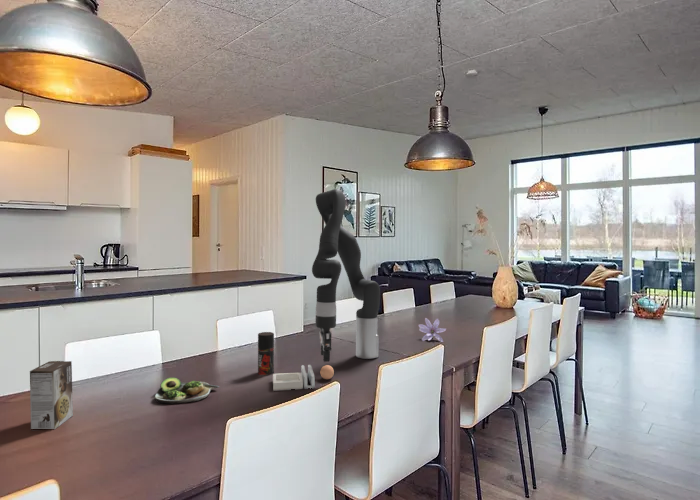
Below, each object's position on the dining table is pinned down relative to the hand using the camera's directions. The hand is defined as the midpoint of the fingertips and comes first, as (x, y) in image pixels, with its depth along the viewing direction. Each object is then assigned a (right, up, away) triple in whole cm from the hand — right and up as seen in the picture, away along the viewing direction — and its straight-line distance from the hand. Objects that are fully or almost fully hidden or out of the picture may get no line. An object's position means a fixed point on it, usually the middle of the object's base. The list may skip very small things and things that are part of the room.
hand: (325, 358), depth 158 cm
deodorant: (-23, -8, +7) cm, 25 cm away
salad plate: (-46, -9, -16) cm, 49 cm away
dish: (-13, -8, -6) cm, 16 cm away
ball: (+1, -8, 0) cm, 8 cm away
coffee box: (-73, -9, -38) cm, 83 cm away
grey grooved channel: (-6, -8, -3) cm, 10 cm away
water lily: (+50, -6, +61) cm, 80 cm away
